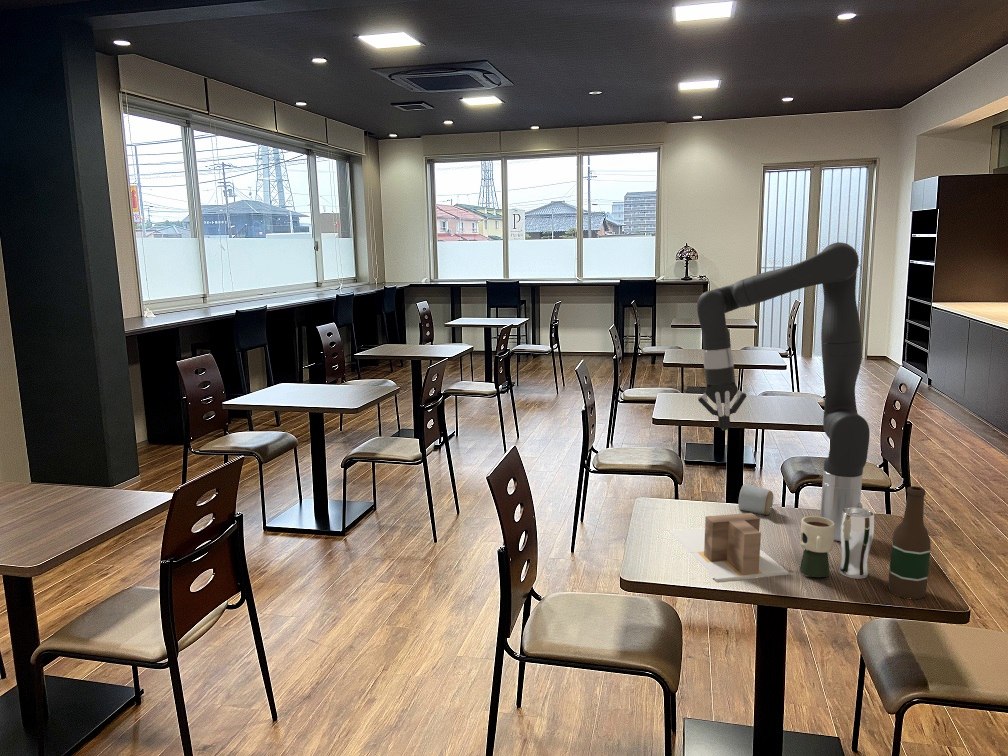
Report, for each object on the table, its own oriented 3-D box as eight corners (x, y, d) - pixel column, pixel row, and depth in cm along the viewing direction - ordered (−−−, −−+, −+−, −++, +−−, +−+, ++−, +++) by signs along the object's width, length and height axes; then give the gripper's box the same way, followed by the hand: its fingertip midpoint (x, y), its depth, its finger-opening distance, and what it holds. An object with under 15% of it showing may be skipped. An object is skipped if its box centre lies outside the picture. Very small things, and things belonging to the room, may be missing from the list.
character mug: (796, 562, 184) (799, 511, 181) (828, 566, 182) (832, 514, 179) (799, 582, 174) (802, 528, 171) (833, 586, 171) (837, 532, 169)
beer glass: (867, 582, 173) (873, 519, 170) (834, 575, 177) (839, 514, 174) (871, 570, 179) (877, 510, 176) (839, 564, 183) (844, 504, 180)
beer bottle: (933, 600, 165) (944, 494, 160) (897, 600, 165) (907, 494, 160) (915, 583, 172) (925, 482, 168) (880, 583, 173) (889, 482, 168)
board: (667, 532, 203) (667, 530, 203) (730, 527, 206) (730, 525, 206) (715, 581, 175) (715, 578, 175) (788, 574, 178) (788, 571, 178)
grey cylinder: (767, 519, 211) (768, 492, 210) (737, 513, 215) (738, 487, 214) (776, 508, 220) (777, 482, 218) (747, 502, 224) (748, 477, 223)
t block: (703, 555, 187) (705, 516, 185) (749, 551, 189) (751, 512, 187) (726, 576, 176) (728, 535, 174) (774, 572, 178) (777, 531, 176)
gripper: (694, 370, 200) (700, 434, 202) (746, 364, 198) (752, 430, 200) (692, 366, 208) (698, 429, 210) (742, 361, 205) (748, 424, 207)
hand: (725, 429), depth 205 cm, fingers closed
